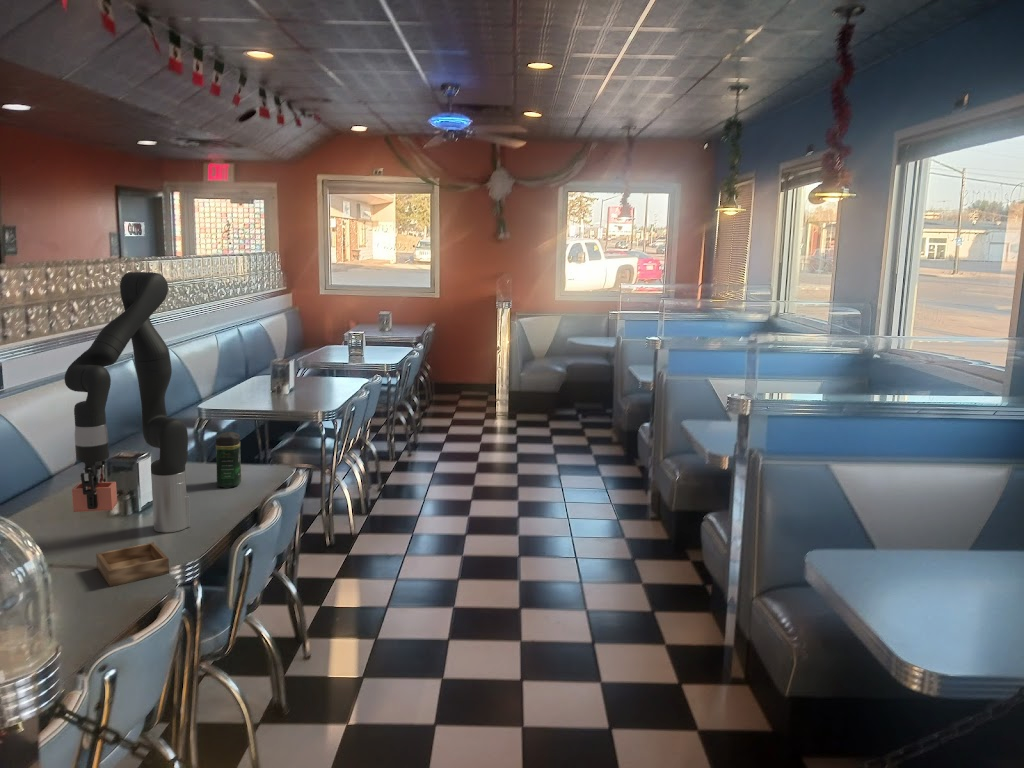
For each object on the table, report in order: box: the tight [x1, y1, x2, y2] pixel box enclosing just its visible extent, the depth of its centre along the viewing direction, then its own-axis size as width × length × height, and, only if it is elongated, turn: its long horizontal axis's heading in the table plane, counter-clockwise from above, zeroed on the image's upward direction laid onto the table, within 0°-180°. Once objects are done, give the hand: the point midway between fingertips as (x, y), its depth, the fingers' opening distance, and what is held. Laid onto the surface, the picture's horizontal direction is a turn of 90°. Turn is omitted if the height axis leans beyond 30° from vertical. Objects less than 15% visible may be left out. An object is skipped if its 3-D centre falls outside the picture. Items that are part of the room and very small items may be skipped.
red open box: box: [71, 481, 118, 513], centre depth 202 cm, size 9×6×6 cm, turn 104°
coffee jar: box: [215, 431, 242, 489], centre depth 272 cm, size 10×8×19 cm
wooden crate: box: [95, 541, 170, 587], centre depth 199 cm, size 14×14×4 cm
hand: (95, 504), depth 203 cm, fingers closed on red open box, 5 cm apart
